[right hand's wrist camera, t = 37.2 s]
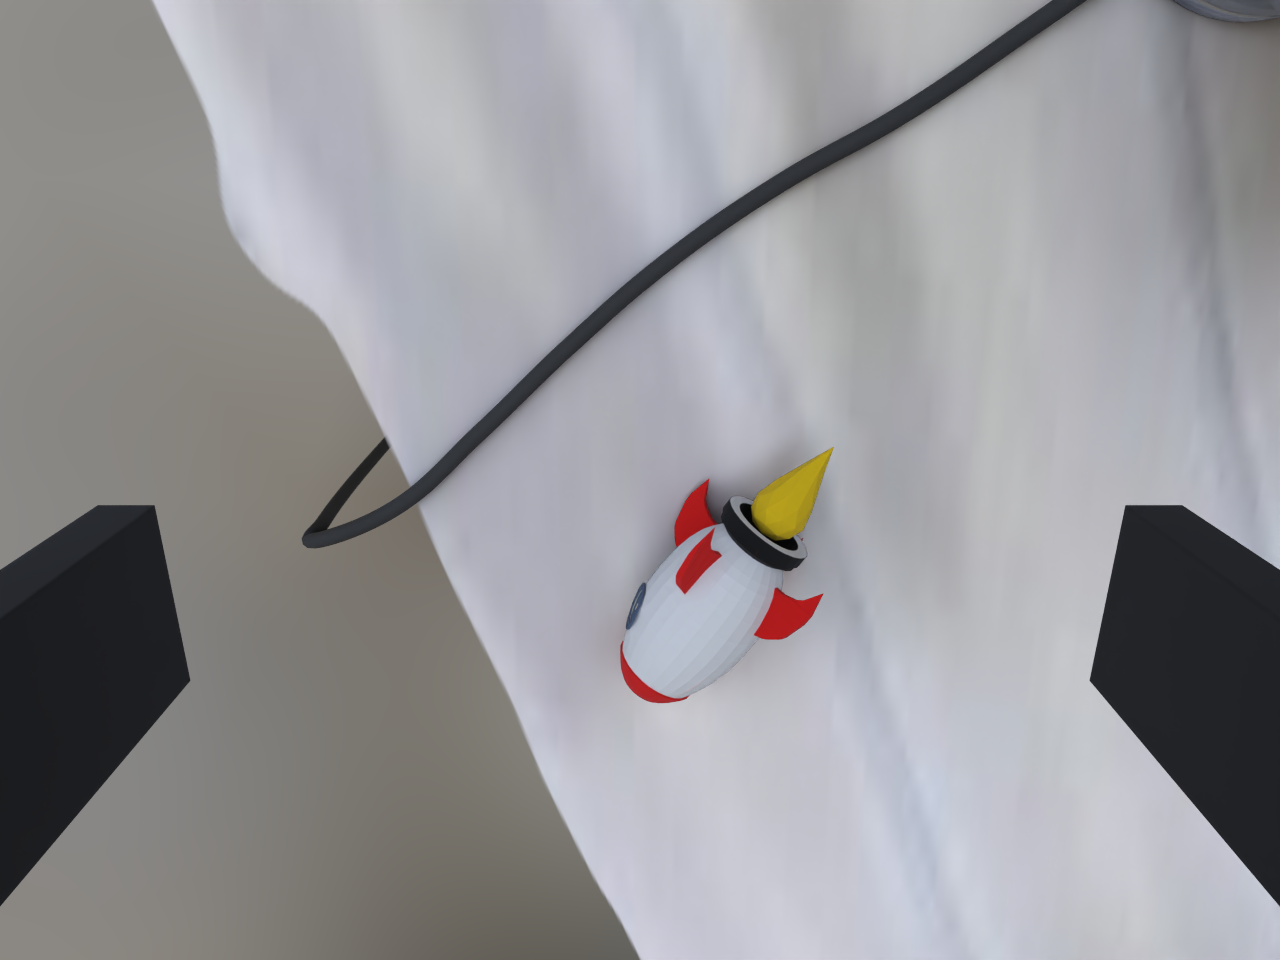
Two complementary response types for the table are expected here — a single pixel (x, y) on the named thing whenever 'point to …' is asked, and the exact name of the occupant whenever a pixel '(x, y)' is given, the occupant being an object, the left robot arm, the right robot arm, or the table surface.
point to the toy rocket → (720, 588)
